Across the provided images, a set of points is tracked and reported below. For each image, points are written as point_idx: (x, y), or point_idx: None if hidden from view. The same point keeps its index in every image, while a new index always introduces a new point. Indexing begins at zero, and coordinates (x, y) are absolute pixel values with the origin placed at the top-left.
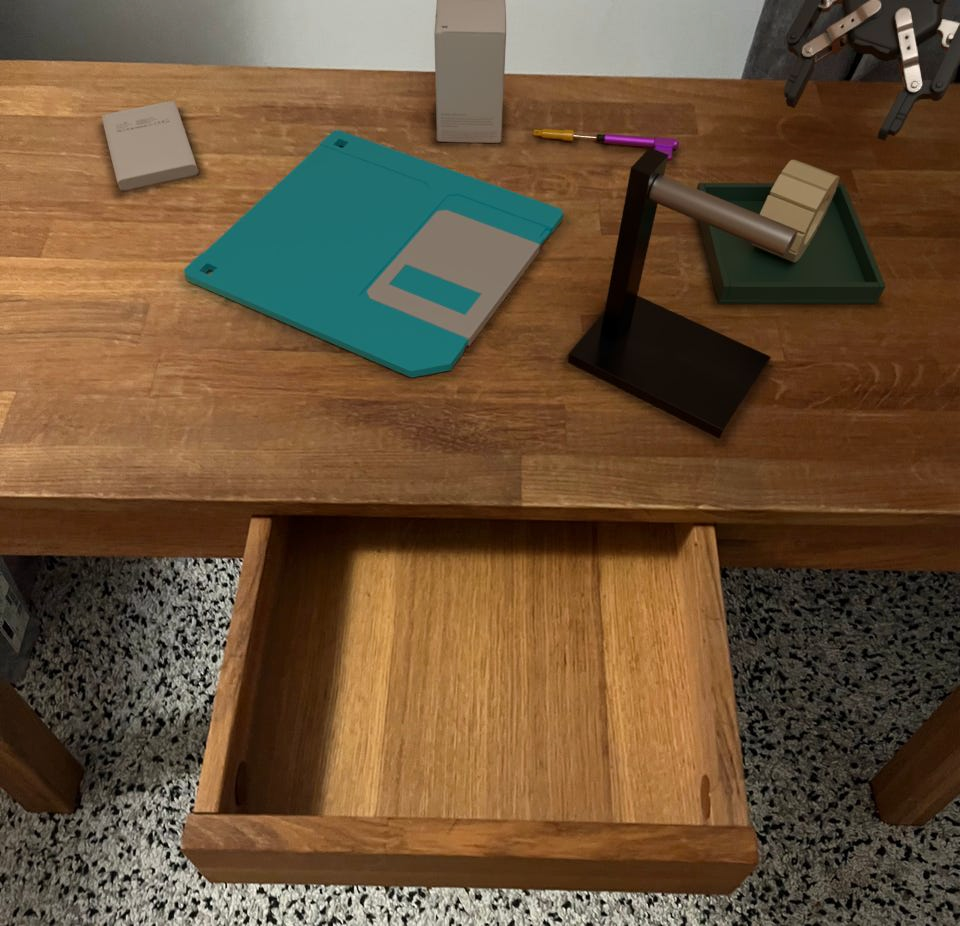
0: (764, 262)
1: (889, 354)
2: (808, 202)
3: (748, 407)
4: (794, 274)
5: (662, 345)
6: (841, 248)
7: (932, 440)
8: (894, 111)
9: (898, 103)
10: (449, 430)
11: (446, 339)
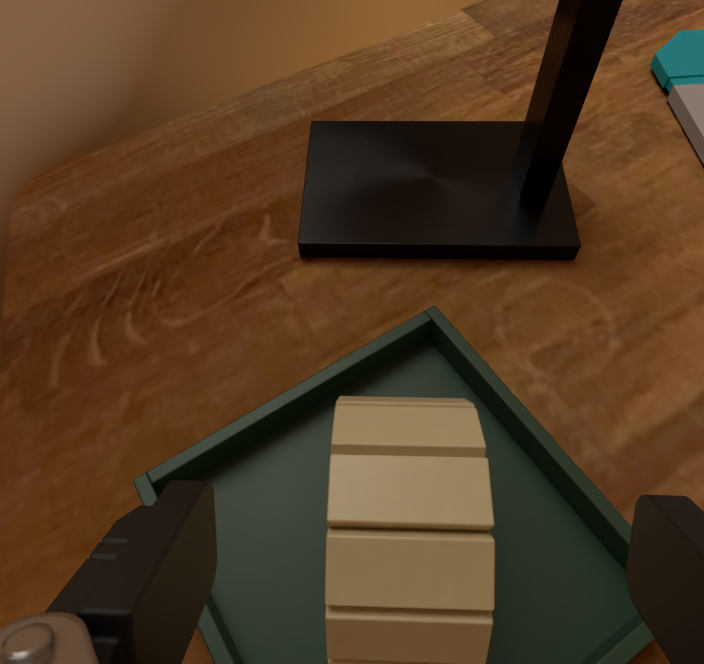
0: None
1: (111, 380)
2: (364, 411)
3: (297, 187)
4: None
5: (453, 186)
6: (261, 627)
7: (35, 258)
8: (152, 536)
9: (134, 561)
10: None
11: (694, 73)
